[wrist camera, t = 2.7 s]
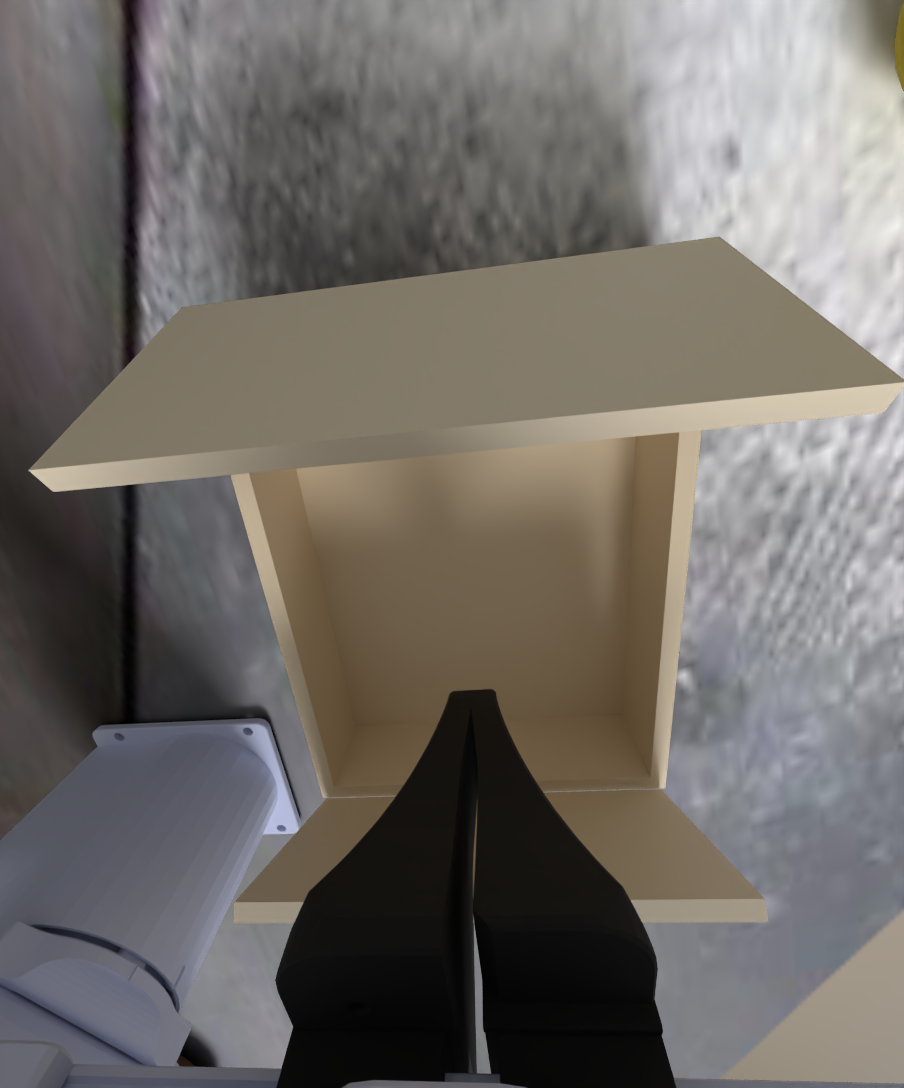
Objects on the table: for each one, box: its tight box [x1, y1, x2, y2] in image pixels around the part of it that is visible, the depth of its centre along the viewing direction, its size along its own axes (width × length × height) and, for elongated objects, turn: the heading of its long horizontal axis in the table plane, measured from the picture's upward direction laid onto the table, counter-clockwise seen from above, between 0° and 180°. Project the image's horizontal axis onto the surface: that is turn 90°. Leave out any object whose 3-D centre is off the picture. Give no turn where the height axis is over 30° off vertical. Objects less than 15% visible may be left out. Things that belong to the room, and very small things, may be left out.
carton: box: [231, 430, 701, 798], centre depth 16 cm, size 14×18×4 cm
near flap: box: [28, 237, 904, 492], centre depth 9 cm, size 14×6×1 cm
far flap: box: [234, 789, 768, 923], centre depth 14 cm, size 14×6×1 cm
